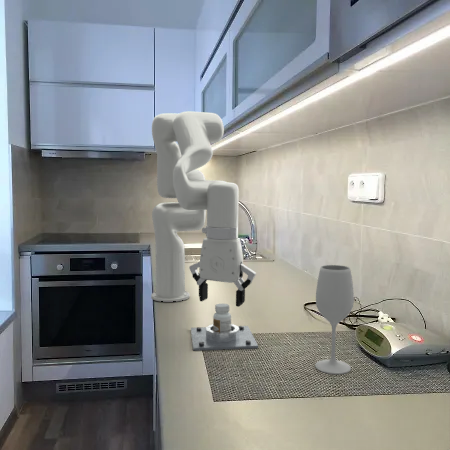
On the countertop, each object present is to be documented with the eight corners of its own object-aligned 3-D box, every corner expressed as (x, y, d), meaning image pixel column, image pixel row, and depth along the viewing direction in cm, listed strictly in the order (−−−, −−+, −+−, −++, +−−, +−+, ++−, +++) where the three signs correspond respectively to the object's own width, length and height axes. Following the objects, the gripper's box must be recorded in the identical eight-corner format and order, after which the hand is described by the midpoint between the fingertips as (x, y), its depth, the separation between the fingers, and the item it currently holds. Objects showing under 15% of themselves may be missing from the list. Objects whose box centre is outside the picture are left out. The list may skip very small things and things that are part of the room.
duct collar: (205, 331, 117) (205, 323, 117) (236, 330, 118) (236, 322, 118) (207, 342, 109) (207, 334, 109) (241, 341, 110) (241, 332, 110)
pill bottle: (210, 334, 115) (210, 303, 115) (227, 332, 117) (227, 302, 116) (216, 339, 111) (216, 308, 110) (233, 337, 113) (233, 306, 112)
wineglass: (345, 360, 100) (348, 264, 98) (356, 374, 93) (359, 271, 91) (310, 360, 100) (312, 264, 98) (319, 374, 92) (321, 271, 91)
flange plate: (190, 329, 121) (190, 325, 120) (247, 328, 122) (247, 324, 122) (193, 350, 106) (193, 346, 106) (258, 348, 107) (258, 343, 107)
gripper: (183, 233, 112) (182, 302, 114) (250, 238, 105) (248, 311, 107) (197, 229, 119) (196, 294, 121) (261, 234, 112) (259, 303, 114)
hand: (221, 302), depth 114 cm, fingers open, 9 cm apart
